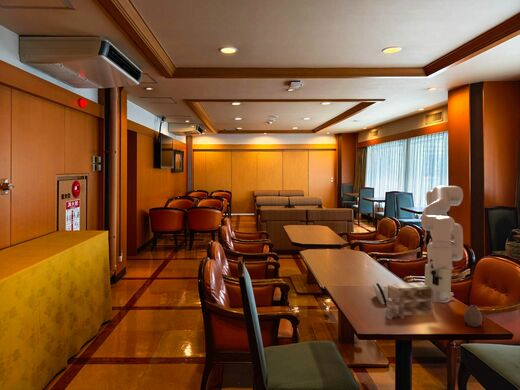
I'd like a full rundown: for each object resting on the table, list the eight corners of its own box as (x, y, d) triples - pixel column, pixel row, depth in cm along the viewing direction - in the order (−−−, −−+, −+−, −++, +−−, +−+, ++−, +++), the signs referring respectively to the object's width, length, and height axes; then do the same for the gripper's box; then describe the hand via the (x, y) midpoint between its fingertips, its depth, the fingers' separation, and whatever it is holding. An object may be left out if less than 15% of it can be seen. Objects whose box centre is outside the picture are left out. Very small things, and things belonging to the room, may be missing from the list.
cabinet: (421, 307, 193) (422, 282, 192) (437, 315, 182) (438, 288, 181) (376, 311, 185) (376, 284, 185) (390, 319, 174) (391, 291, 174)
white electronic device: (392, 305, 195) (386, 286, 196) (383, 307, 196) (377, 289, 196) (385, 296, 212) (379, 278, 212) (377, 298, 213) (371, 281, 213)
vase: (481, 329, 165) (482, 309, 164) (463, 325, 168) (464, 306, 168) (482, 324, 170) (482, 305, 170) (464, 321, 174) (465, 302, 174)
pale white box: (431, 284, 182) (432, 263, 182) (450, 291, 170) (451, 269, 170) (423, 285, 181) (423, 264, 180) (441, 292, 169) (442, 270, 169)
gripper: (449, 242, 179) (448, 281, 180) (420, 243, 175) (418, 283, 175) (462, 245, 172) (461, 285, 173) (431, 246, 168) (430, 287, 168)
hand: (439, 284), depth 174 cm, fingers closed on pale white box, 4 cm apart
